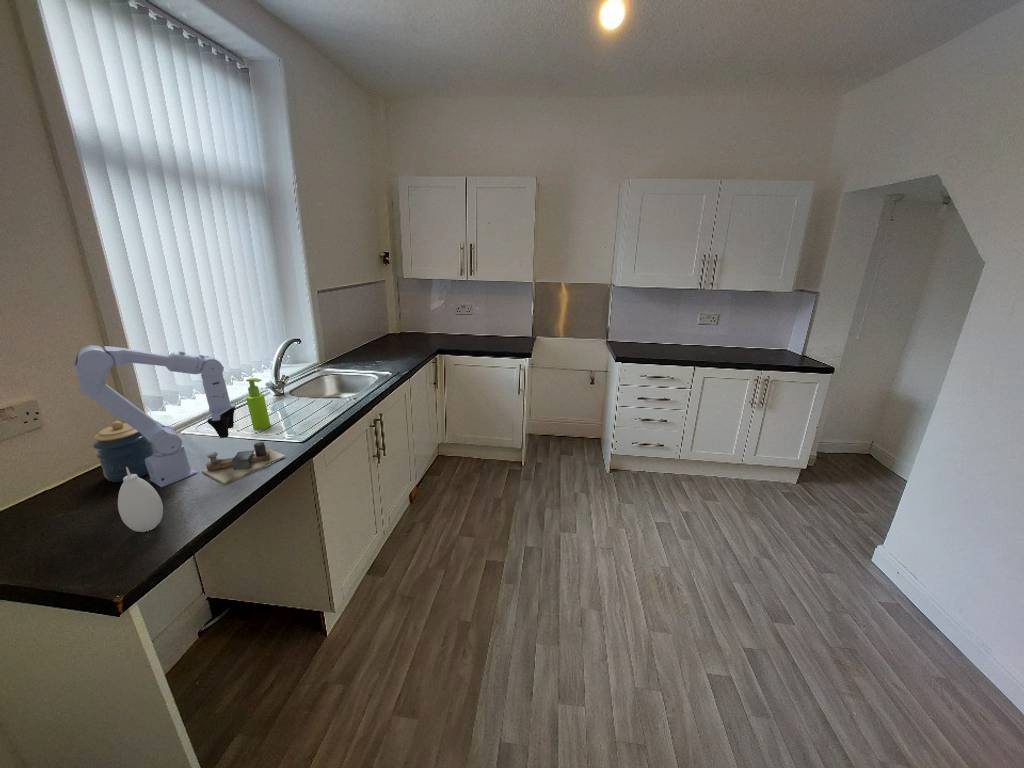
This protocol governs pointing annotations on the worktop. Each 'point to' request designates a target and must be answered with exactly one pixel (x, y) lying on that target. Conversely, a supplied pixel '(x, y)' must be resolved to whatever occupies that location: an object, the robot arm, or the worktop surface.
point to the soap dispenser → (257, 406)
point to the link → (222, 463)
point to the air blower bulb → (139, 504)
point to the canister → (122, 451)
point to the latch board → (230, 474)
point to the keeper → (242, 460)
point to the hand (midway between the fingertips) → (227, 432)
